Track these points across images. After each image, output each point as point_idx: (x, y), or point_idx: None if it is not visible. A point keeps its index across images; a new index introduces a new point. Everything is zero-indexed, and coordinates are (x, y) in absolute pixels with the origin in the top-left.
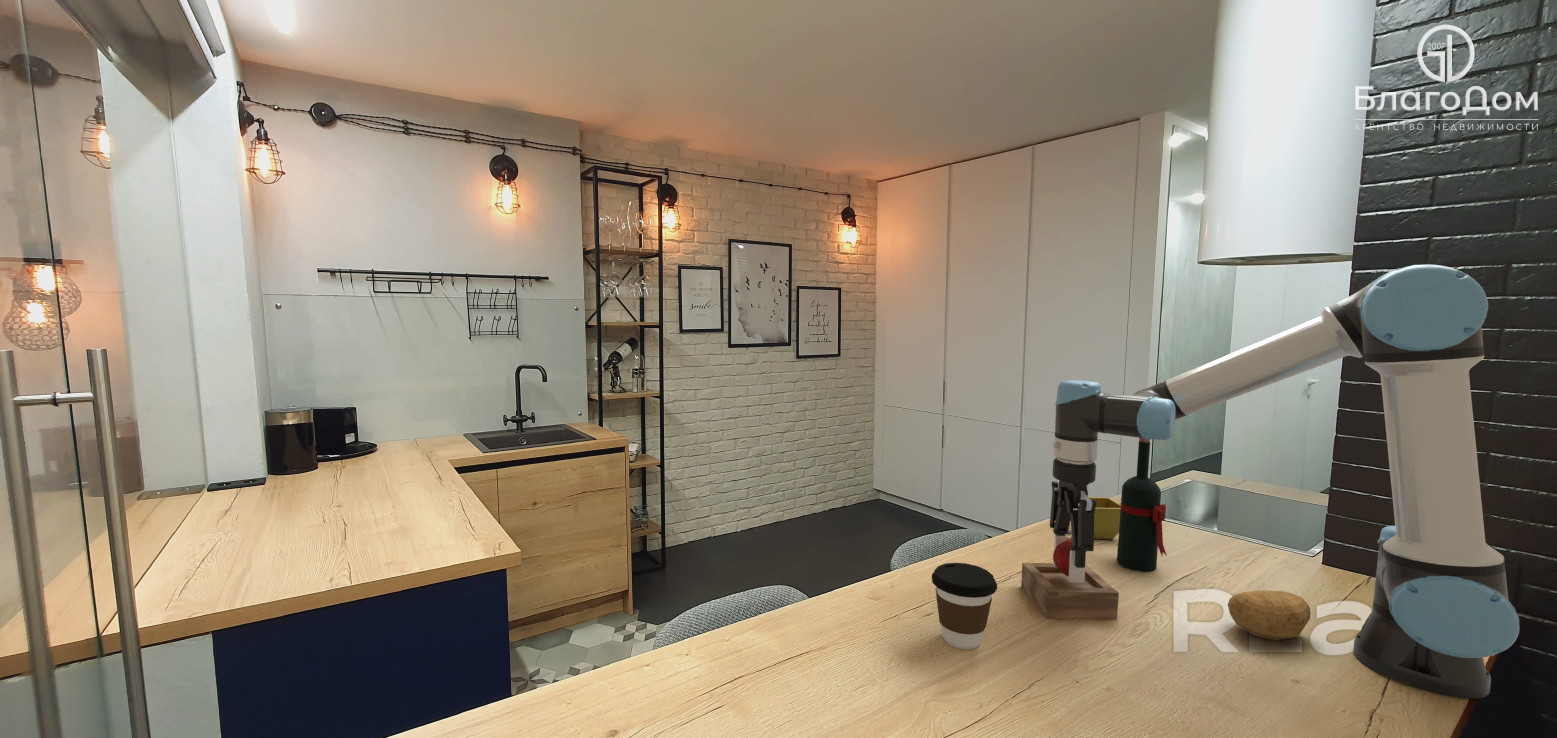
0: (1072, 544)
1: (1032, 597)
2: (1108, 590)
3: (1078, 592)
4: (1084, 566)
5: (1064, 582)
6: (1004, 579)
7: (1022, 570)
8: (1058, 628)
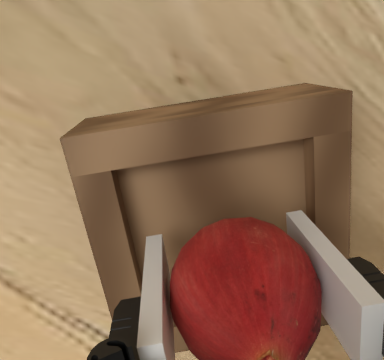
0: (297, 352)
1: None
2: (334, 126)
3: (349, 236)
4: (365, 261)
5: None
6: (93, 333)
7: None
8: (361, 254)
